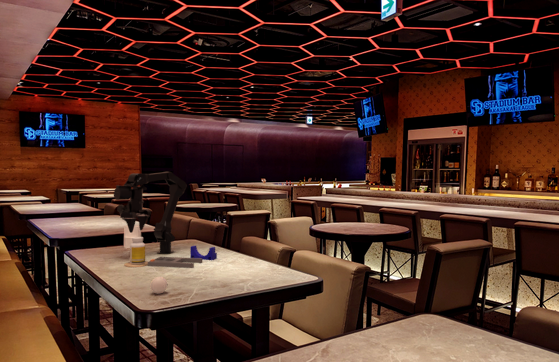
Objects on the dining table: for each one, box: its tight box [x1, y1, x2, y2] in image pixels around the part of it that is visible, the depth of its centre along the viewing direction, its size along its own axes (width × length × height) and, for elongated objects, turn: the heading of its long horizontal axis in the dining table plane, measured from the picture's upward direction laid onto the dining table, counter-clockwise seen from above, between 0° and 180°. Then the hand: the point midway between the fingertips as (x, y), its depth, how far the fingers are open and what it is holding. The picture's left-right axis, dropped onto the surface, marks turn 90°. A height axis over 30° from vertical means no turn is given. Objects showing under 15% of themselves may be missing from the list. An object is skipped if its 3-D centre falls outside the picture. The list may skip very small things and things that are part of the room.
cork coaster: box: [124, 260, 149, 268], centre depth 180 cm, size 11×11×1 cm
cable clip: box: [189, 245, 218, 261], centre depth 194 cm, size 12×4×6 cm, turn 70°
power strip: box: [147, 256, 203, 269], centre depth 181 cm, size 12×21×2 cm, turn 80°
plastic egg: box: [149, 276, 168, 295], centre depth 136 cm, size 8×6×6 cm
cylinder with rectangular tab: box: [123, 224, 142, 249], centre depth 224 cm, size 9×9×12 cm
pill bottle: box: [129, 236, 146, 265], centre depth 180 cm, size 6×6×12 cm
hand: (136, 231), depth 194 cm, fingers open, 9 cm apart
